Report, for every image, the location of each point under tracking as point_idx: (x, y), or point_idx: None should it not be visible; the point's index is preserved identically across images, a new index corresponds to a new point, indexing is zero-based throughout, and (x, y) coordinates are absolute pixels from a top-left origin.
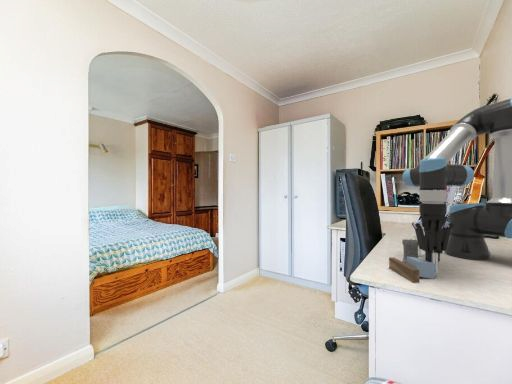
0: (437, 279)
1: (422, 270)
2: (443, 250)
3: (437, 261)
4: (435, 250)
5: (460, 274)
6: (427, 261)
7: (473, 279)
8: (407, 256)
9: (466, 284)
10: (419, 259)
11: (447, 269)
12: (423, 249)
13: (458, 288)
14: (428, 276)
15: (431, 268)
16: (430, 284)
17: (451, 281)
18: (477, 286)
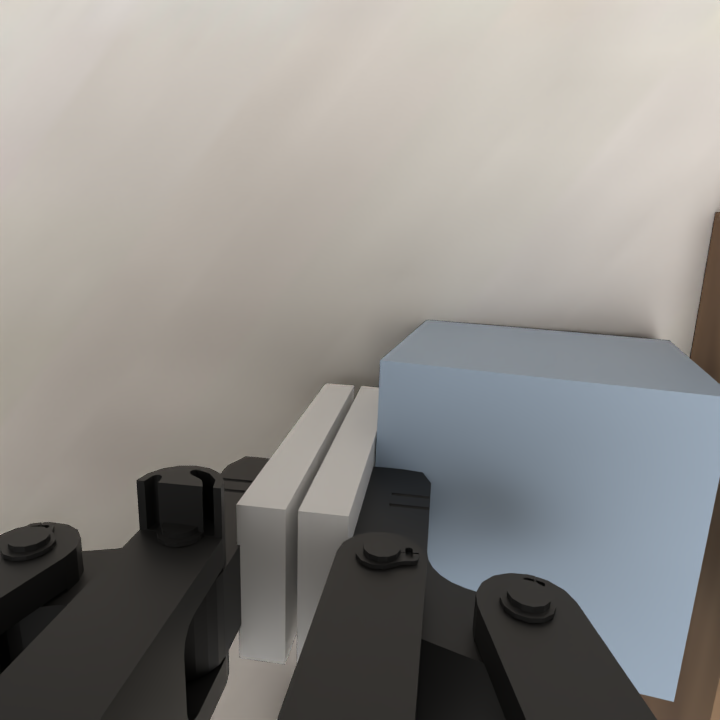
0: (401, 297)
1: (599, 350)
2: (77, 531)
3: (296, 435)
4: (223, 598)
5: (39, 417)
6: (440, 479)
7: (12, 269)
8: (665, 698)
9: (191, 128)
10: (525, 564)
11: None
12: (578, 618)
13: (377, 3)
14: (497, 328)
15: (459, 350)
16: (621, 143)
17: (288, 226)
18: (117, 64)
